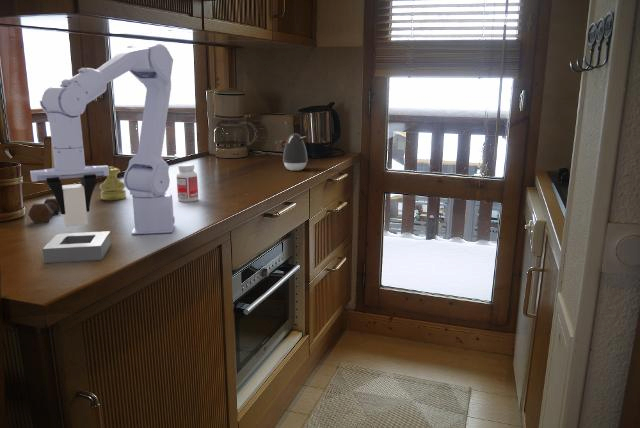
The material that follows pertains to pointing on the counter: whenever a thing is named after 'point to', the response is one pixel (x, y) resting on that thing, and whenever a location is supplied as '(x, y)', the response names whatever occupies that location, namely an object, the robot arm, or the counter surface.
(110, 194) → the yellow chess piece
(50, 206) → the bolt
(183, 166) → the pill bottle
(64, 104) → the robot arm
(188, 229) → the counter surface
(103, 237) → the socket block
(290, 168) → the pump dispenser
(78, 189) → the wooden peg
